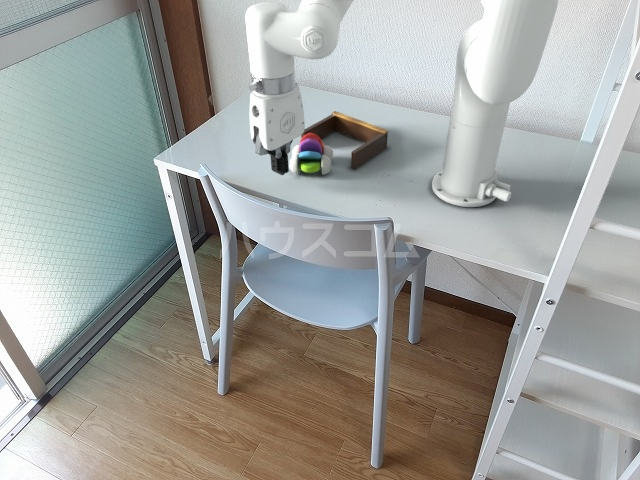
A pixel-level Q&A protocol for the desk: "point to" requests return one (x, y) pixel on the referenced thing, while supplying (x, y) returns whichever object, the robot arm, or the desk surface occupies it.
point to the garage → (353, 135)
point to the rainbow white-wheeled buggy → (311, 155)
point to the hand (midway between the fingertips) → (280, 171)
